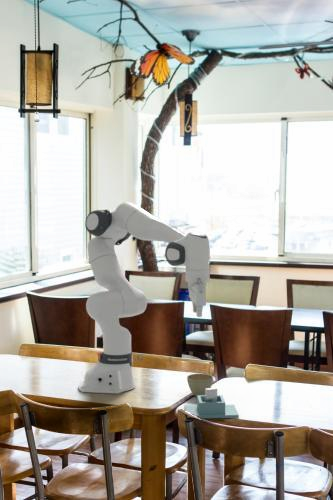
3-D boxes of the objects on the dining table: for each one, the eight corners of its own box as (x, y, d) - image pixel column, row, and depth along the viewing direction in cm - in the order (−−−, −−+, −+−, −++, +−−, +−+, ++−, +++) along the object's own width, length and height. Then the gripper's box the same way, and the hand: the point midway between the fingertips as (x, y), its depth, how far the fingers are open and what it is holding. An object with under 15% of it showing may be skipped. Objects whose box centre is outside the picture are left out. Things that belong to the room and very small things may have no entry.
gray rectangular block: (206, 412, 249) (206, 389, 248) (202, 408, 253) (202, 386, 252) (217, 411, 250) (217, 388, 249) (213, 407, 254) (213, 385, 253)
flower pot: (185, 391, 278) (185, 373, 277) (211, 391, 278) (211, 373, 278) (188, 399, 268) (188, 380, 267) (214, 398, 269) (214, 380, 268)
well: (186, 418, 245) (186, 404, 244) (184, 407, 257) (184, 394, 256) (238, 417, 246) (238, 403, 245) (234, 407, 258) (234, 393, 257)
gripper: (210, 280, 249) (210, 319, 250) (202, 273, 269) (201, 309, 271) (192, 280, 249) (192, 319, 250) (185, 273, 269) (185, 310, 270)
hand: (197, 314), depth 260 cm, fingers open, 8 cm apart
